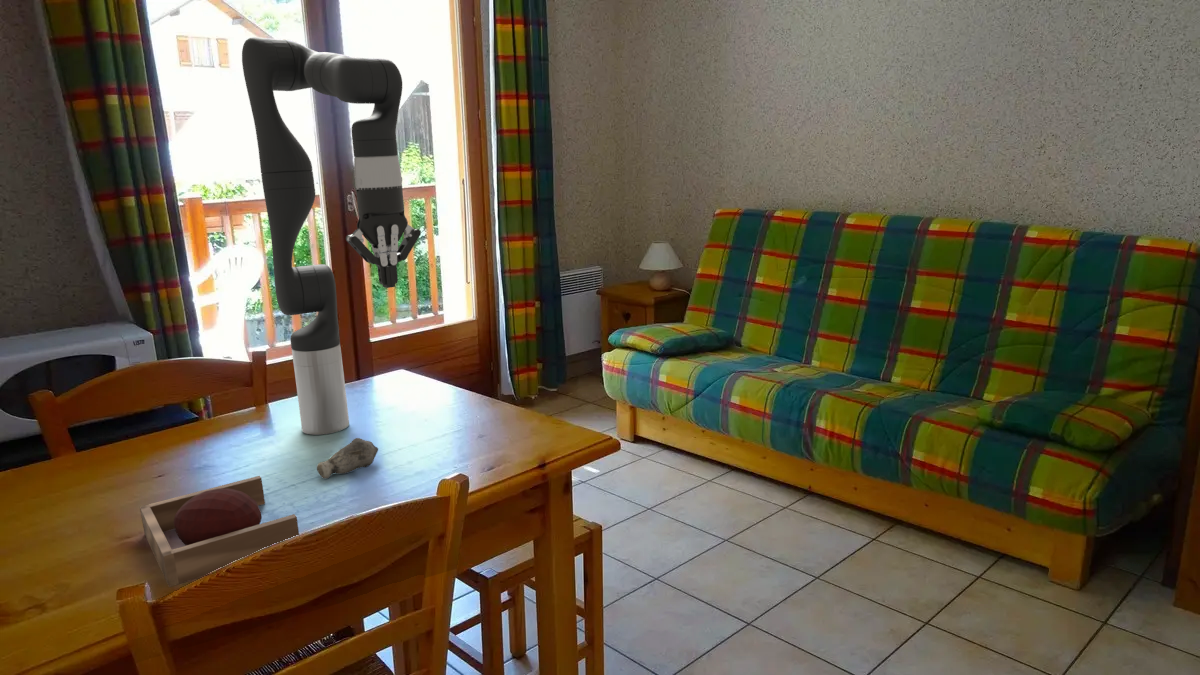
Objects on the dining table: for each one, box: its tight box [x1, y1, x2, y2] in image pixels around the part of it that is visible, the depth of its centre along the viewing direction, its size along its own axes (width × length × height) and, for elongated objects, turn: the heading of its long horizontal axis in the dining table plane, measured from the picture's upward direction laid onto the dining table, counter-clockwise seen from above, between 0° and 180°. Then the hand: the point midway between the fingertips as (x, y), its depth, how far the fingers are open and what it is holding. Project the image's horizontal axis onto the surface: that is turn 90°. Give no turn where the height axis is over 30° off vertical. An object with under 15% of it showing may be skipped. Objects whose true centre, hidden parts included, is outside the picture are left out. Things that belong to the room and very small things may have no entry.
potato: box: [173, 488, 263, 546], centre depth 117 cm, size 12×11×8 cm
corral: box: [139, 475, 300, 588], centre depth 119 cm, size 19×17×4 cm
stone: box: [316, 437, 379, 480], centre depth 144 cm, size 10×5×8 cm
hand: (388, 286), depth 140 cm, fingers closed
